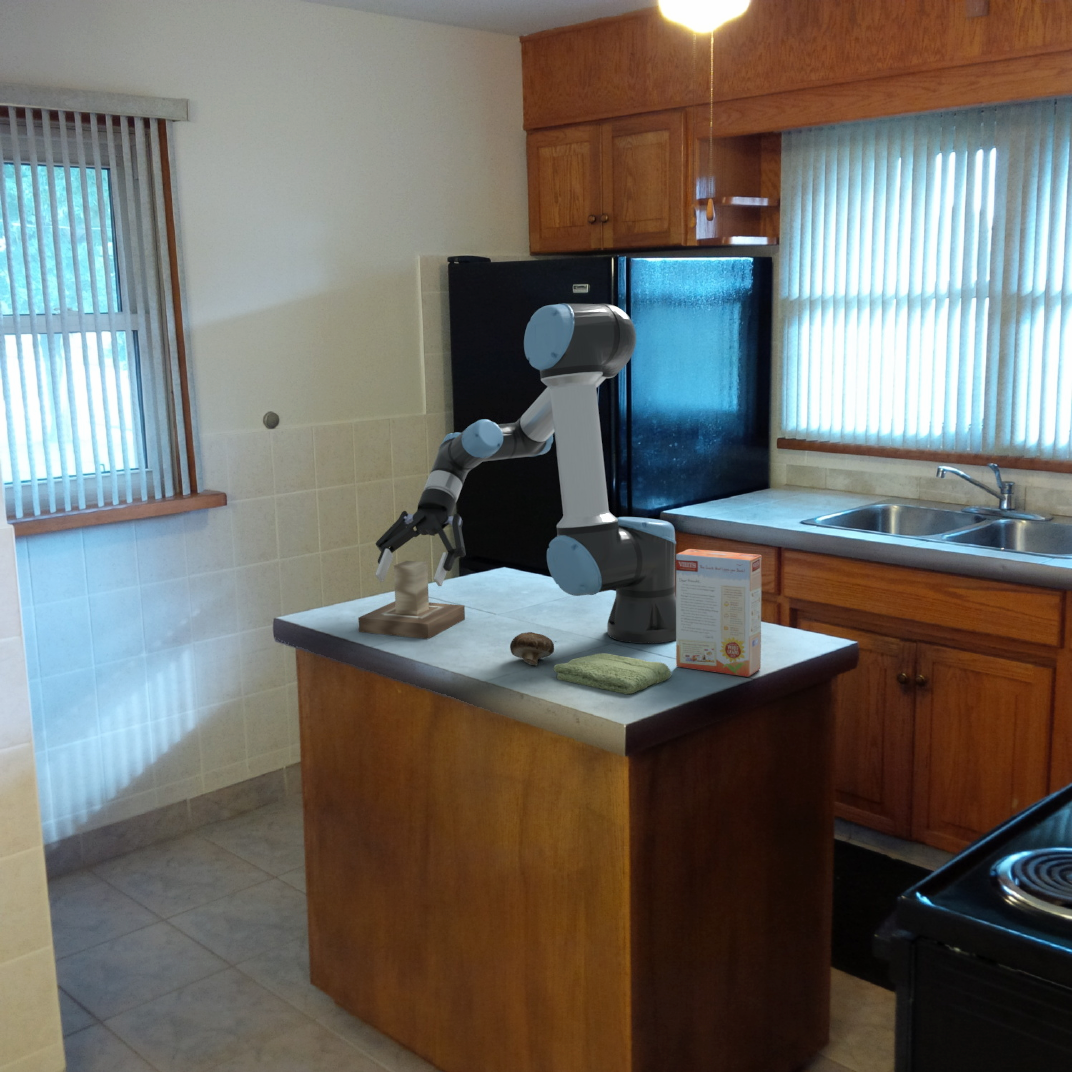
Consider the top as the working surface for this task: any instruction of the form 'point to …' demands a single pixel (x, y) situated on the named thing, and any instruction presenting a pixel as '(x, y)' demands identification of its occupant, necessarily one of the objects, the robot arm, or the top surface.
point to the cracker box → (718, 611)
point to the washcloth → (613, 672)
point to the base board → (412, 620)
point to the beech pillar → (411, 587)
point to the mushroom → (531, 647)
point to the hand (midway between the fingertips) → (408, 580)
